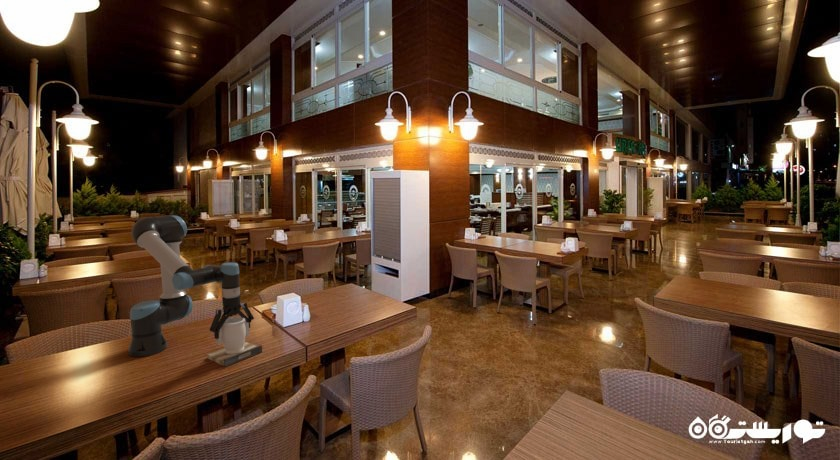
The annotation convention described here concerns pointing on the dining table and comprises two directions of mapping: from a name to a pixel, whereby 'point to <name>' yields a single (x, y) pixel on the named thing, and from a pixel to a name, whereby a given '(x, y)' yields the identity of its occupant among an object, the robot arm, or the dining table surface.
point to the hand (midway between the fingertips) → (233, 339)
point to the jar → (233, 335)
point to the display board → (230, 359)
